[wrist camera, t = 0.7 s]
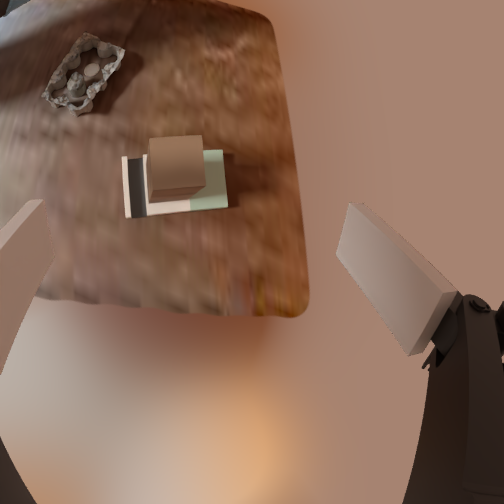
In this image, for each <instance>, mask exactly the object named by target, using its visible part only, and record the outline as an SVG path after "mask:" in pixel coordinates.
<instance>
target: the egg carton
mask: <svg viewBox="0 0 504 504" xmlns="http://www.w3.org/2000/svg"><path fill="white" fill-rule="evenodd" d="M93 47H95V48H97V52H98V56H99V57H101V58H107V57H110V56H111V55H112V54H114V55H116V56H117V61H116V62H114V63H108V64H107V65H106V66H105V67H104V69H102V72H103V82H102V80H100V81H99V82H98V83H96V82H94V83H93V84H92V85H91V86H89V87H88V89H87V95H88V97H89V98H87V99H85V100H84V104H83V106H79V107H76V106H74V105H73V104H71V103H70V101H69V100H68V98H67V96H65V95H63V96H62V97H60V96H59V97H57V98H56V99H54V98H52V96H51V94H52V92H53V91H54V90H58V89H61V88H63V87H64V86H65V84H66V82H67V79H66V72H67V71H68V70H72V69H75V68H77V67H78V66H79V64H80V62H81V59H80V53H81V52H83V51H88V50H90V49H92V48H93ZM124 52H125V50H124V49H122V48H120V47H119V46H118V47H117V46H114V45H112V44H111V43H109V42H108V43H105V42H102V41H101V40H100V39H99V38H98V37H96V36H94V35H91V34H89V33H87V31H85V32H84V33H83V34H82V36H80V37H79V38H78V40H77V41H76V42H75V43H74V44H73V46H72V47H71V50H70V52H69V53H68V54H67V55H66V56H65V57H64V59H63V61H62V62H61V64H60V65H59V66H58V68H57V69H56V70H55V71H54V73H53V75H52V77H51V79H50V81H49V83H48V85H47V87H46V90H45V92H43V94H42V96H41V97H43V98H44V99H45V100H47V101H49V102H50V103H51V105H52V107H54V108H58V107H59V106H60V105H63V106H67V108H69V110H70V112H71V115H73V116H75V117H78V116H79V115H80V114H81V113H83V112H90V111H91V109H92V108H93V103H92V99H93V98H94V97H95V94H96V93H98V91H104V89H105V88H106V86H107V81H106V80H107V79H108V77H109V76H110V75H111V74H112V73H113V72H114V71H118V69H119V68H120V67H121V60H122V58H123V56H124ZM99 70H100V66H99V65H98V64H97V63H91V64H89V65H87V66H86V67H85V69H84V74H85V75H86V76H88V77H92V76H95V75H96V74H97V73H98V72H99ZM67 88H68V90H69V93H70V95H71V96H72V97H80V96H82V95H83V94H84V93H85V91H86V84H85V80H84V77H83V76H82V75H81V74H79V73H78V72H75V73H73V74H72V75H71V78H70V79H69V81H68V83H67Z"/></svg>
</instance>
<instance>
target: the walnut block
mask: <svg viewBox="0 0 504 504" xmlns="http://www.w3.org/2000/svg"><path fill="white" fill-rule="evenodd" d="M146 175H147V189H148V202H149V204H151V203H160V202H170V201H180V200H188V199H189V198H190V197H192V196H193V195H194V194H196V193H197V192H198V191H200V190H201V189H202V188H204V187H205V186H206V179H205V167H204V156H203V144H202V135H195V136H175V137H159V138H150V140H149V146H148V153H147V160H146Z"/></svg>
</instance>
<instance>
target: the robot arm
mask: <svg viewBox="0 0 504 504" xmlns="http://www.w3.org/2000/svg"><path fill="white" fill-rule="evenodd" d="M29 1H30V0H0V18H1V17H2V16H3V17H5V16H7V15H8V14H9V13H10V12H11V11H13V10H14V9H16V8H18V7H20V6H21V5H23V4H25V3H27V2H29ZM336 256H337V257H338V259H339V260H340V261H341V263H342V264H343V265H344V267H345V268H346V269H347V271H348V272H349V273H350V275H351V276H352V277H353V279H354V280H355V281H356V283H357V284H358V286H359V287H360V288H361V290H362V291H363V292H364V294H365V295H366V296H367V298H368V299H369V301H370V302H371V304H372V305H373V306H374V308H375V309H376V310H377V312H378V313H379V315H380V316H381V318H382V319H383V320H384V322H385V323H386V325H387V326H388V328H389V329H390V331H391V332H392V334H393V335H394V336H395V338H396V339H397V341H398V342H399V344H400V345H401V347H402V348H403V350H404V351H405V353H406V354H407V356H411V355H415V354H419V353H422V352H423V351H424V350H425V348H426V347H427V345H428V343H429V342H430V340H432V342H433V343H434V344H435V347H434V349H433V350H432V352H431V353H430V355H429V356H428V358H427V359H426V361H425V362H424V364H423V366H422V369H424V368H425V367H426V366H427V365H428V364H430V367H429V369H428V371H429V378H428V387H427V395H426V402H425V408H424V414H423V420H422V426H421V431H420V436H419V442H418V446H417V451H416V455H415V460H414V464H413V468H412V472H411V475H410V479H409V483H408V486H407V490H406V493H405V497H404V500H403V503H402V504H504V363H502V358H501V357H502V356H503V355H504V301H503V302H502V304H501V306H500V307H499V309H498V311H494V310H491V308H490V306H489V305H488V304H487V303H486V302H485V301H484V300H482V299H481V298H479V297H477V296H475V295H470V294H469V295H465V296H464V297H463V296H462V295H461V294H460V293H459V291H457V289H456V288H455V287H454V286H453V285H452V284H451V283H450V282H449V281H448V280H447V279H446V278H445V277H444V276H443V275H442V274H441V273H440V272H439V271H438V270H437V269H436V268H435V267H434V266H433V265H432V264H431V263H430V262H429V261H427V260H426V259H425V258H424V257H423V256H422V255H421V254H420V253H419V252H418V251H417V250H416V249H415V248H414V247H413V246H411V245H410V244H409V243H408V242H407V241H406V240H405V239H404V238H403V237H401V235H399V234H398V233H397V232H396V231H395V230H394V229H393V228H392V227H390V226H389V225H388V224H387V223H386V222H385V221H383V220H382V219H381V218H380V217H379V216H378V215H376V214H375V213H374V212H373V211H372V210H371V209H370V208H368V207H367V206H366V205H365V204H364V203H353V202H349V205H348V209H347V214H346V218H345V221H344V225H343V229H342V233H341V237H340V241H339V244H338V248H337V251H336ZM54 258H55V255H54V250H53V245H52V241H51V236H50V230H49V225H48V219H47V214H46V207H45V201H44V199H38V200H29V201H28V202H27V203H26V204H25V205H24V206H23V207H22V208H21V209H20V210H19V211H18V212H17V213H16V214H15V215H14V216H13V217H12V218H11V219H10V221H9V222H8V223H7V224H6V225H5V226H4V227H3V228H2V229H1V230H0V375H1V373H2V370H3V368H4V365H5V362H6V360H7V357H8V354H9V352H10V349H11V346H12V344H13V342H14V339H15V337H16V335H17V332H18V330H19V327H20V325H21V322H22V321H23V319H24V316H25V314H26V312H27V310H28V308H29V306H30V304H31V301H32V299H33V297H34V295H35V293H36V291H37V289H38V287H39V285H40V283H41V282H42V280H43V278H44V276H45V274H46V272H47V270H48V268H49V267H50V265H51V263H52V261H53V259H54ZM0 504H37V503H36V502H35V500H34V499H33V497H32V496H31V494H30V492H29V491H28V489H27V487H26V486H25V484H24V482H23V481H22V479H21V477H20V475H19V473H18V472H17V470H16V468H15V466H14V464H13V462H12V460H11V458H10V457H9V454H8V452H7V450H6V448H5V446H4V444H3V442H2V440H1V438H0Z"/></svg>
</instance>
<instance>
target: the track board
mask: <svg viewBox="0 0 504 504" xmlns="http://www.w3.org/2000/svg"><path fill="white" fill-rule="evenodd" d="M203 156H204V167H205V179H206V186H205V187H204V188H202V189H201V190H200V191H198V192H197V193H196V194H194V195H193V196H192V197H190V198H189V199H188V200H180V201H170V202H160V203H151V204H149V202H148V189H147V175H146V160H147V154H146V155H143V158H139V159H130V160H127V156H126V157H122V170H123V188H124V202H125V214H126V219H128V218H137V217H145V216H153V215H162V214H171V213H181V212H191V211H201V210H211V209H222V208H226V207H228V201H227V191H226V181H225V171H224V161H223V150H205V151H203Z"/></svg>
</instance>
